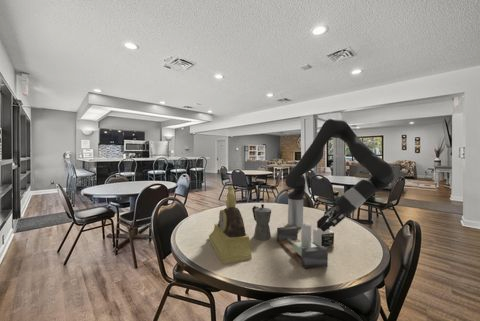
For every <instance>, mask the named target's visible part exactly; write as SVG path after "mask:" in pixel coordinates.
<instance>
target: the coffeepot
mask: <svg viewBox="0 0 480 321" xmlns="http://www.w3.org/2000/svg"><path fill="white" fill-rule="evenodd" d="M260 205H261V207H260V206H256V205H254V206H253V207H252V209H251V210H252V216H253V219H254V221H255V223H256V224H255V228H254V234H253V237H254V239H256V240H259V241H267V240H270V239H271V238H272V235H271V234H272V233H271V229H270V225H269V224H270V221H271V215H272V209H270V208H268V207H265V204H263V203H261V204H260Z"/></svg>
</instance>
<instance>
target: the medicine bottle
mask: <svg viewBox="0 0 480 321" xmlns="http://www.w3.org/2000/svg"><path fill="white" fill-rule="evenodd" d="M327 221H328V220H327ZM327 221H326V222H327ZM324 223H325V222H324ZM324 223H323V224H324ZM323 224H322V225H323ZM322 225H320V224H319V223H318V220H317V221H316V228H313V229H312V231H313V232H312V233H313V234H312V243H313V244H314V245H316V246H317V247H319V246H324V247H325V248H331V247H334V246H335V232H334V231H332V230H331V227H329V228H328V229H327V230H326V231H324V232H323V231H322V230H321V229H320V227H321V226H322Z"/></svg>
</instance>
